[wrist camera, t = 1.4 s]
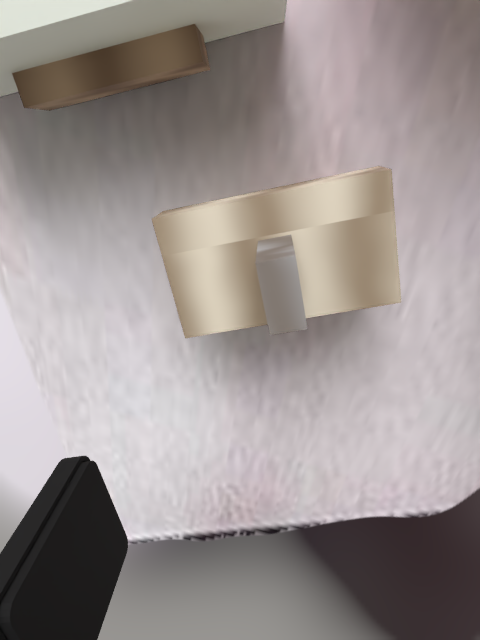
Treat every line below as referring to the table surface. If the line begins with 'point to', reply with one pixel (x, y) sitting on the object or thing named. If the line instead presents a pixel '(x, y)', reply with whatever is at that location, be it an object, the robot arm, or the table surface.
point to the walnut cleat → (114, 69)
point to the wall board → (113, 26)
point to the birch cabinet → (283, 254)
